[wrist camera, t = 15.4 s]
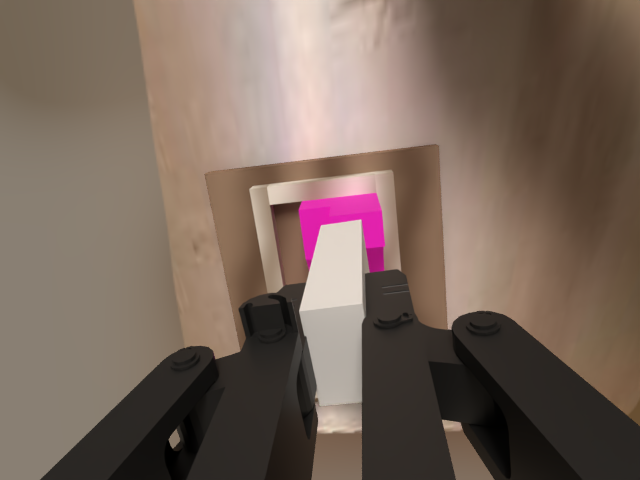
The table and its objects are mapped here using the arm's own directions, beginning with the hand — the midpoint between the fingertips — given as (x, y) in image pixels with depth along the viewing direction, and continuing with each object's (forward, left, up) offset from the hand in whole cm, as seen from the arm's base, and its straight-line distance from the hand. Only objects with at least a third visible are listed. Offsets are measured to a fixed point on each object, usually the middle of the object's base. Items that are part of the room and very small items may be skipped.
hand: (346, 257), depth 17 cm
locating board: (+2, +12, -24) cm, 27 cm away
